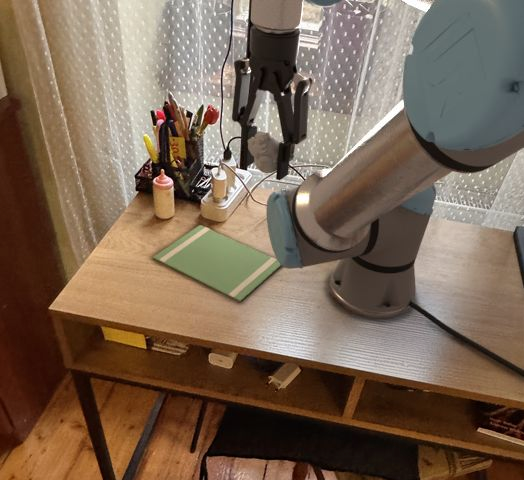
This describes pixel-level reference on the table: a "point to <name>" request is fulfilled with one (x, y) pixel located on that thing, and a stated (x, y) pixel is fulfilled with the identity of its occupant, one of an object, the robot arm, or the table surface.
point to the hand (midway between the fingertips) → (265, 170)
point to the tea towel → (219, 262)
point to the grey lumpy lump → (264, 151)
